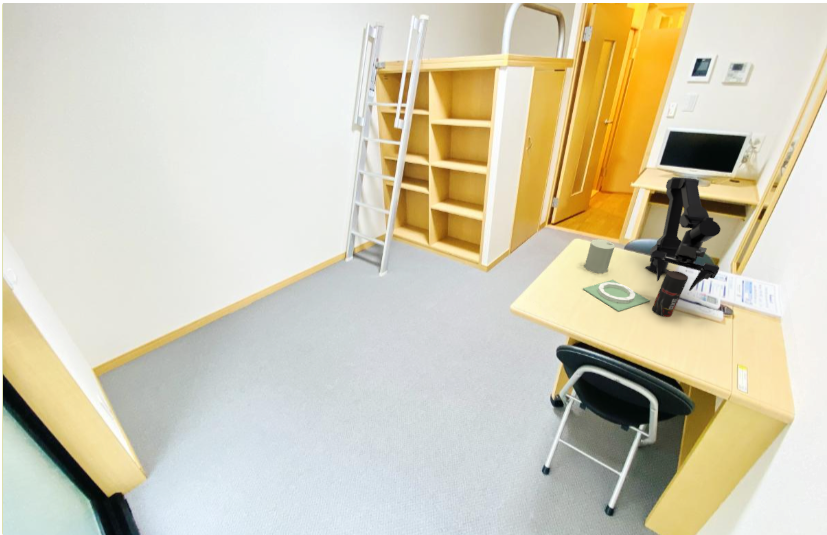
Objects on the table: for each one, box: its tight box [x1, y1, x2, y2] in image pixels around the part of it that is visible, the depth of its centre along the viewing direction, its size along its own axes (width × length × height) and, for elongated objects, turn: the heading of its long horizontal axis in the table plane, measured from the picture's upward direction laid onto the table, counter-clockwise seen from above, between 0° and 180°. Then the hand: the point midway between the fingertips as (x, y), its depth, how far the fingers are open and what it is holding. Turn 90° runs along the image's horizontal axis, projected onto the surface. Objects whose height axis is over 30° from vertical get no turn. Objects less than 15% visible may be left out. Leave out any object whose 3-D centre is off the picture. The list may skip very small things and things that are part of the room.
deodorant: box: [651, 270, 689, 318], centre depth 117 cm, size 6×6×15 cm
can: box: [583, 238, 616, 274], centre depth 146 cm, size 9×9×12 cm
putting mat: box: [582, 279, 651, 313], centre depth 130 cm, size 16×16×2 cm
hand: (673, 285), depth 117 cm, fingers open, 9 cm apart
